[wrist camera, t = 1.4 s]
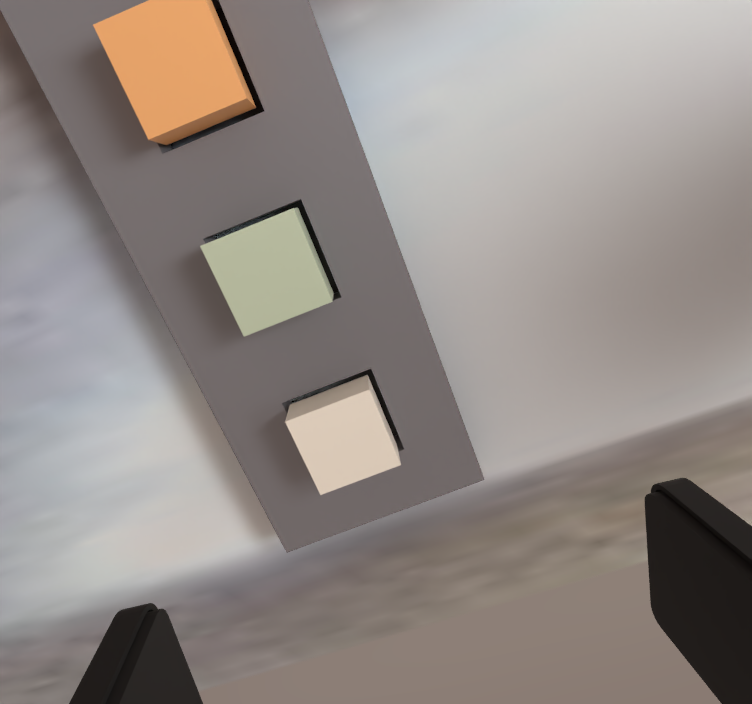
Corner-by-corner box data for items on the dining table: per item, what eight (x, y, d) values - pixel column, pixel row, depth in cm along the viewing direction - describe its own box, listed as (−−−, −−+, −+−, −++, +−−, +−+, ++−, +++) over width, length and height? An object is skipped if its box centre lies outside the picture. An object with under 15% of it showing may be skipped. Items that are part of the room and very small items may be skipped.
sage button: (297, 207, 24) (293, 208, 22) (333, 293, 25) (332, 301, 23) (212, 242, 24) (199, 246, 22) (252, 325, 26) (243, 336, 23)
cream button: (367, 374, 27) (369, 389, 25) (396, 445, 28) (401, 464, 26) (289, 404, 27) (285, 421, 25) (322, 473, 28) (320, 495, 26)
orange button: (211, 0, 22) (197, -22, 19) (256, 107, 23) (247, 98, 21) (117, 42, 22) (92, 24, 20) (166, 145, 23) (148, 139, 21)
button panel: (262, -115, 22) (254, -145, 20) (475, 462, 30) (484, 479, 29) (14, -4, 23) (-17, -22, 21) (290, 531, 31) (286, 552, 29)
